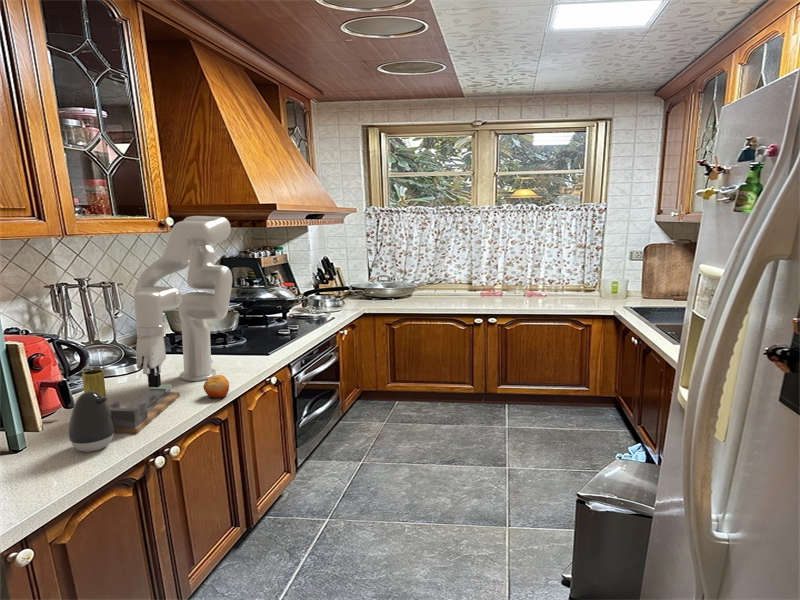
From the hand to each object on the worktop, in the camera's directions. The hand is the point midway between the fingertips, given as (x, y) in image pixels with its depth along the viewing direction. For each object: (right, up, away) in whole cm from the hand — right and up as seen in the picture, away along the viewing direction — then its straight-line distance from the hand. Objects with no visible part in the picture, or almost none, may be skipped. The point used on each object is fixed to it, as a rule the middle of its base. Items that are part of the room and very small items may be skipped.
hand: (154, 386), depth 155 cm
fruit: (+17, -5, +9) cm, 19 cm away
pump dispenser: (-2, -11, -28) cm, 30 cm away
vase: (-12, -8, -11) cm, 18 cm away
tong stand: (0, -7, -6) cm, 10 cm away
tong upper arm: (0, -4, -5) cm, 6 cm away
